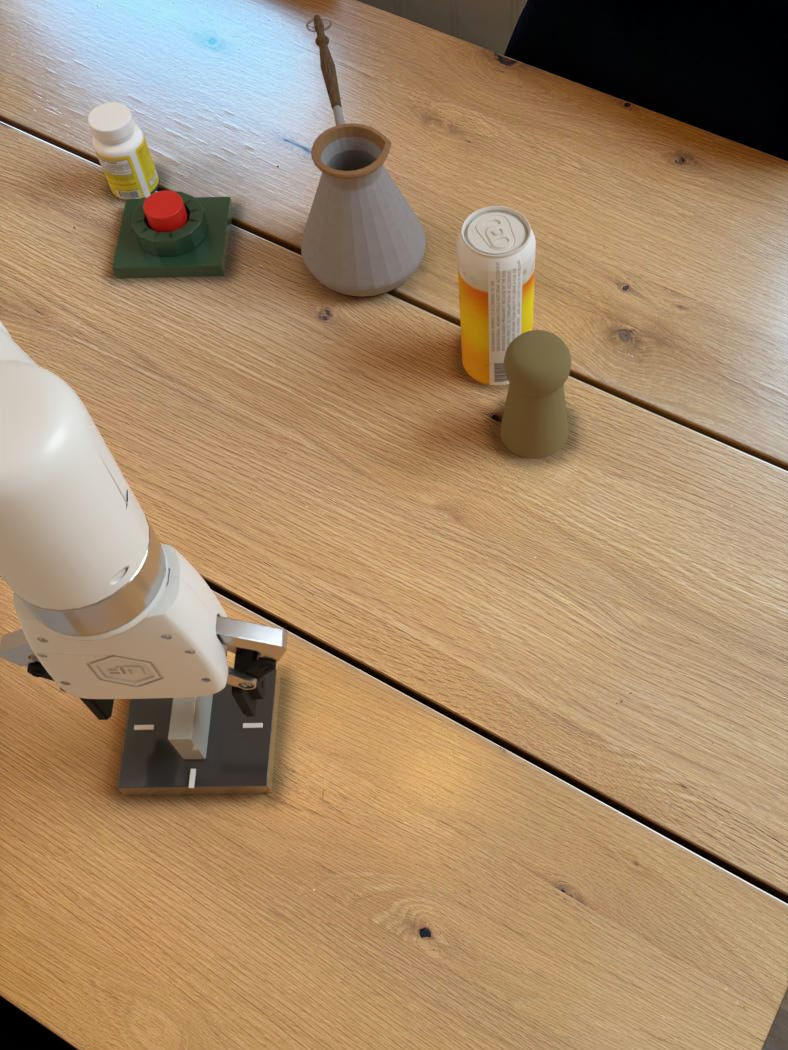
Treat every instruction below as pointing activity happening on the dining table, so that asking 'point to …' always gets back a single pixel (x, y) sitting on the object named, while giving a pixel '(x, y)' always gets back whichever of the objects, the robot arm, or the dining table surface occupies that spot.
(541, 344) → the olive pawn
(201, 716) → the hob knob
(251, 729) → the rotary switch
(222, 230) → the control block
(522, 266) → the beer can
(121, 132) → the supplement bottle
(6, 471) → the robot arm
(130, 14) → the dining table surface
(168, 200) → the power button
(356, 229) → the coffee pot
